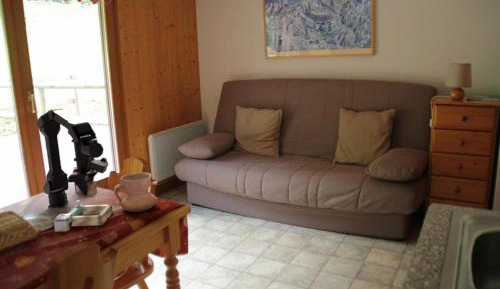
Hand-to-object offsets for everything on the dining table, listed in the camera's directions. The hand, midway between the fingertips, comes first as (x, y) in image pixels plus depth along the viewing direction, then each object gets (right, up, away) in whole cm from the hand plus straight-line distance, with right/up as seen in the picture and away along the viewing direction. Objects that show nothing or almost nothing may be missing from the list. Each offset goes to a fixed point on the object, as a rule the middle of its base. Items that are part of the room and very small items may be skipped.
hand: (88, 192), depth 165 cm
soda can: (-17, -4, +38) cm, 41 cm away
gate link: (-7, -10, +3) cm, 13 cm away
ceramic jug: (+16, -8, +12) cm, 22 cm away
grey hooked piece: (-7, -11, +2) cm, 13 cm away
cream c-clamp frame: (0, -11, +2) cm, 11 cm away
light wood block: (0, -1, 0) cm, 1 cm away
